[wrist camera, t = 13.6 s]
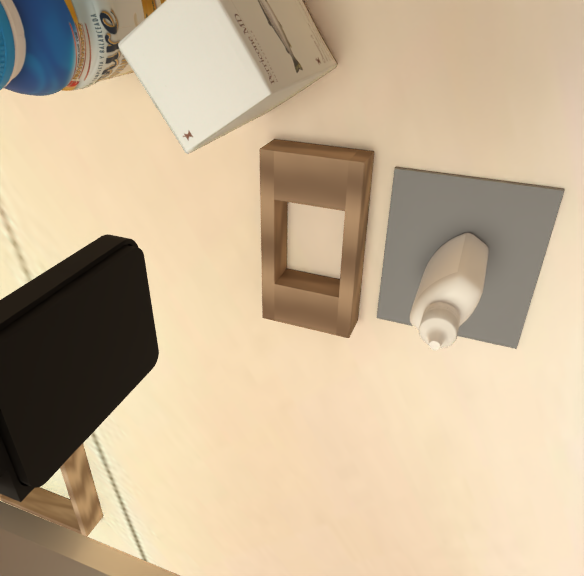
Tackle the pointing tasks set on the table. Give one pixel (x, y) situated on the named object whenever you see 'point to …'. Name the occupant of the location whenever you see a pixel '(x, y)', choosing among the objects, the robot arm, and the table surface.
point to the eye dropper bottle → (449, 290)
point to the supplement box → (224, 62)
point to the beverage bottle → (65, 42)
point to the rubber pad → (481, 223)
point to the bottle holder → (322, 193)
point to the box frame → (60, 510)
